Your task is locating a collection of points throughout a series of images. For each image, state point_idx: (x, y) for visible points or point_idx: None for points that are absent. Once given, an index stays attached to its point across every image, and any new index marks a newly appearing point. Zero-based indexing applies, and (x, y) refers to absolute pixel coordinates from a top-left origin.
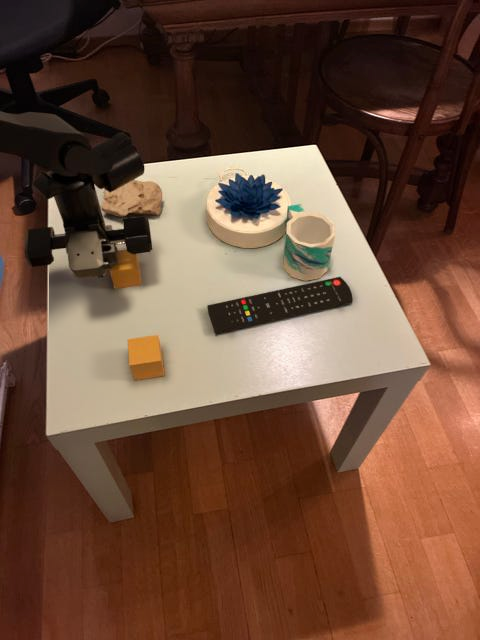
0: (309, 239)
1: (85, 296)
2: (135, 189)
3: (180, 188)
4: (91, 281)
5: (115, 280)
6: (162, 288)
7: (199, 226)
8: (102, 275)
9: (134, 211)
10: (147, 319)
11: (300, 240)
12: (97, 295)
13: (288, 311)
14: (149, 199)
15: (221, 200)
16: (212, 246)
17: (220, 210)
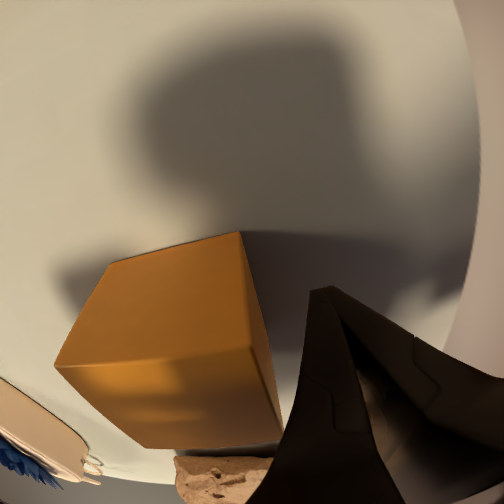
0: None
1: (385, 175)
2: (235, 502)
3: (163, 471)
4: (360, 265)
5: (222, 271)
6: (31, 252)
7: (78, 424)
8: (314, 299)
9: (229, 473)
10: (39, 66)
11: None
12: (329, 180)
13: None
14: (197, 490)
15: (37, 468)
16: (21, 382)
17: (31, 452)
